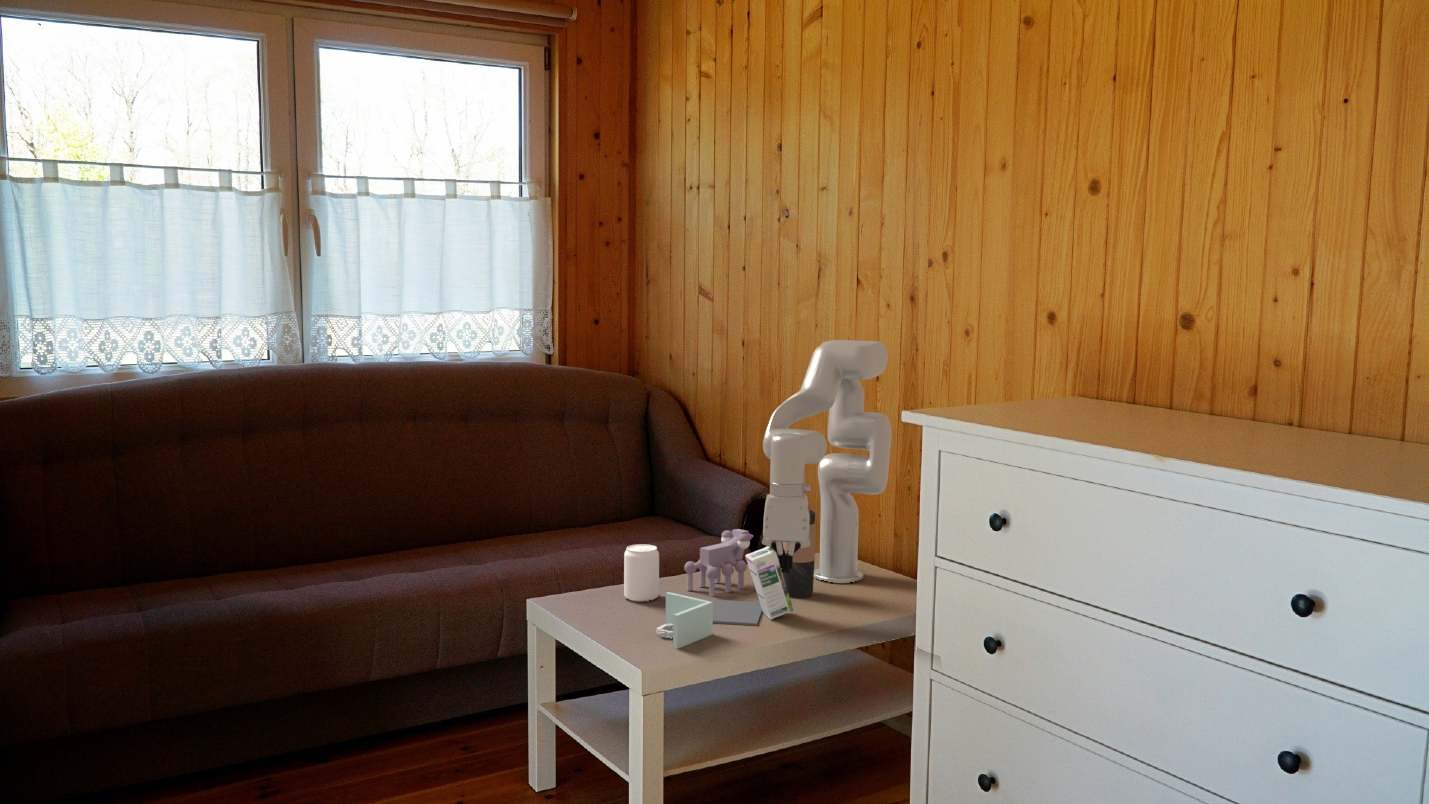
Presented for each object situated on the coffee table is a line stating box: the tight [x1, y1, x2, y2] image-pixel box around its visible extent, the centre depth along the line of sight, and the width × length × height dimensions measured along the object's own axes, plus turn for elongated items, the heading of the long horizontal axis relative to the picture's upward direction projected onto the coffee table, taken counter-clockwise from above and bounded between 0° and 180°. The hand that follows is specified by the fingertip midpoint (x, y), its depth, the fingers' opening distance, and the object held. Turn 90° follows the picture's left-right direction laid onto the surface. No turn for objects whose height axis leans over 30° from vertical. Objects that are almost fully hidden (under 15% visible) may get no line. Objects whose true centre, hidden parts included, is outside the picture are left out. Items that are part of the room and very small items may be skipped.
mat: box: [700, 598, 763, 627], centre depth 241 cm, size 16×20×1 cm
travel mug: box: [782, 509, 816, 599], centre depth 255 cm, size 8×8×20 cm
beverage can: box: [623, 543, 660, 603], centre depth 251 cm, size 8×8×12 cm
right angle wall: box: [656, 591, 714, 650], centre depth 224 cm, size 12×12×8 cm
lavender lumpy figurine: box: [683, 528, 754, 597], centre depth 262 cm, size 20×11×14 cm, turn 135°
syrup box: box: [745, 545, 794, 620], centre depth 238 cm, size 6×6×14 cm
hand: (785, 571), depth 238 cm, fingers closed
